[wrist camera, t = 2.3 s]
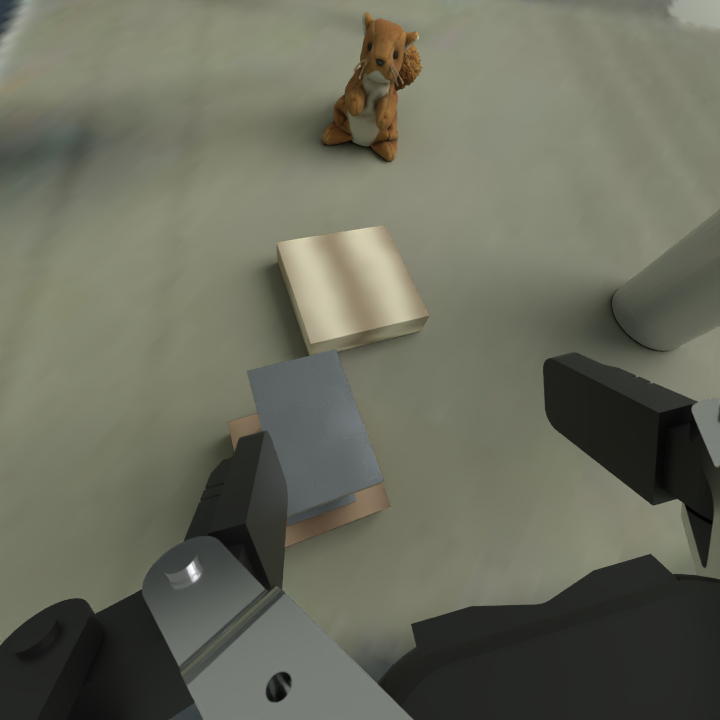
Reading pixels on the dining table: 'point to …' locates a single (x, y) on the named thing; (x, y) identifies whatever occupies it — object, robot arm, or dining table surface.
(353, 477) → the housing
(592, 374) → the robot arm
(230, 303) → the dining table surface
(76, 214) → the dining table surface
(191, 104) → the dining table surface
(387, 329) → the cream slab
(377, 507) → the walnut stand
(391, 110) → the stuffed squirrel
